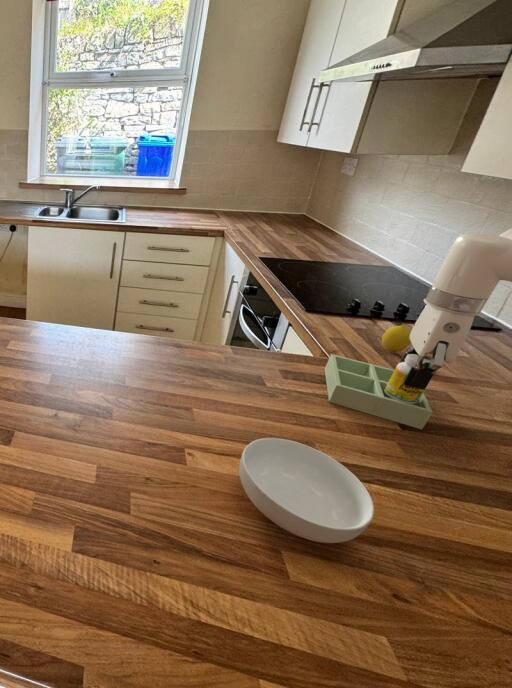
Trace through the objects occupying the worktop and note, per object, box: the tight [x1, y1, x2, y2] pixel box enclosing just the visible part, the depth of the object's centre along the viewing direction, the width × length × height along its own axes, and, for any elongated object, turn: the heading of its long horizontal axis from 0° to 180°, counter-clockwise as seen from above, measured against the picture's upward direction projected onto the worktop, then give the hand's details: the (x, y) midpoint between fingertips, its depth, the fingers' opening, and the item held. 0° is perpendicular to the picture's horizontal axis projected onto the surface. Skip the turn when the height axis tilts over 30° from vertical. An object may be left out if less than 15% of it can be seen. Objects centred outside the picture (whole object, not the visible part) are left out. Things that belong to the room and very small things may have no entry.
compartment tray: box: [324, 353, 434, 430], centre depth 90 cm, size 15×15×5 cm
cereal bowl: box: [238, 437, 375, 544], centre depth 63 cm, size 17×17×7 cm
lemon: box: [381, 325, 411, 353], centre depth 108 cm, size 6×6×8 cm
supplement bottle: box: [384, 353, 431, 404], centre depth 83 cm, size 5×5×10 cm
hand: (410, 378), depth 83 cm, fingers closed on supplement bottle, 5 cm apart
